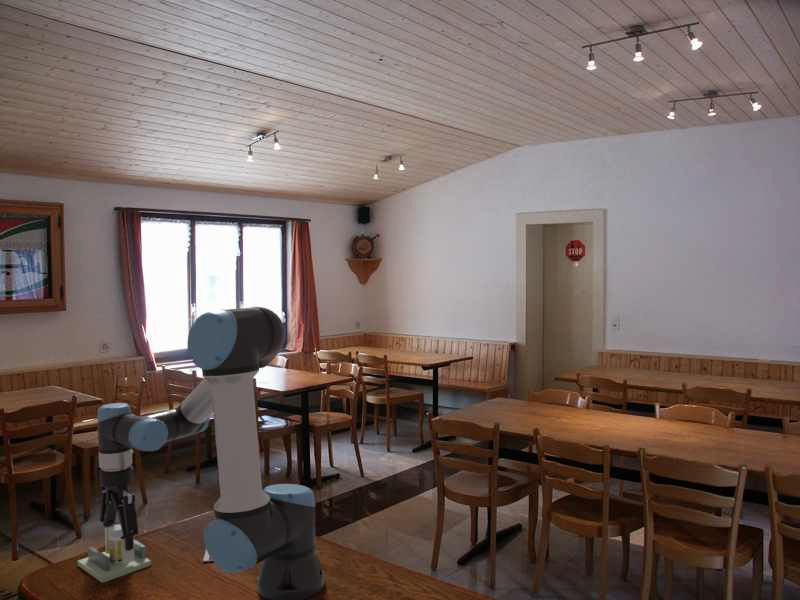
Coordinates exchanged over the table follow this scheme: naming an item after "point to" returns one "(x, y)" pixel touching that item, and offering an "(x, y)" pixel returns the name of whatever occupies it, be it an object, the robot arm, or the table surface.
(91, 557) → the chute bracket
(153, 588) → the table surface
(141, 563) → the board
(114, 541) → the supplement bottle
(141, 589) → the table surface
